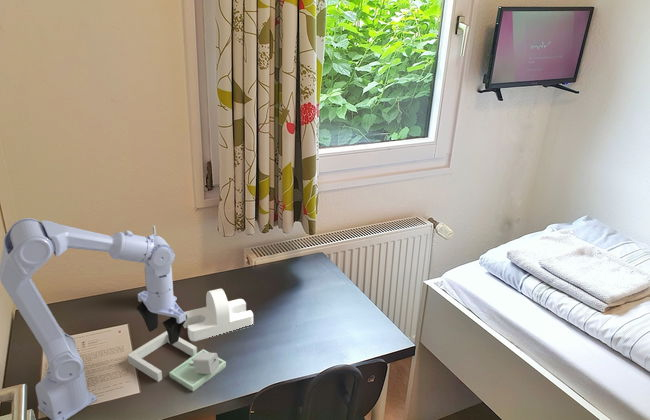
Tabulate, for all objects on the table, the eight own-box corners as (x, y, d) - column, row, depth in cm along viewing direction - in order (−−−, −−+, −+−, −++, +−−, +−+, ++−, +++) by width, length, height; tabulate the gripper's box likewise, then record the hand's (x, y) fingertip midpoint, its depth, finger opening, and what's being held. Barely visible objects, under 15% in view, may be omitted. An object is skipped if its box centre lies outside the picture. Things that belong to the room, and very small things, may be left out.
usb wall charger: (211, 375, 123) (208, 361, 122) (187, 374, 125) (183, 359, 124) (219, 366, 127) (216, 351, 126) (195, 364, 129) (192, 350, 128)
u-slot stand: (181, 323, 145) (179, 290, 140) (242, 308, 153) (242, 276, 149) (191, 343, 137) (189, 309, 133) (254, 326, 145) (254, 293, 141)
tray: (193, 391, 121) (192, 386, 120) (169, 377, 125) (169, 372, 124) (226, 366, 129) (226, 361, 129) (203, 353, 133) (203, 349, 132)
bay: (158, 381, 123) (157, 373, 122) (128, 362, 128) (127, 354, 127) (197, 354, 132) (196, 347, 131) (167, 338, 138) (167, 330, 137)
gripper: (195, 290, 118) (197, 339, 123) (153, 269, 125) (157, 316, 130) (170, 304, 112) (174, 354, 118) (128, 281, 119) (133, 329, 125)
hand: (163, 335), depth 124 cm, fingers open, 7 cm apart
